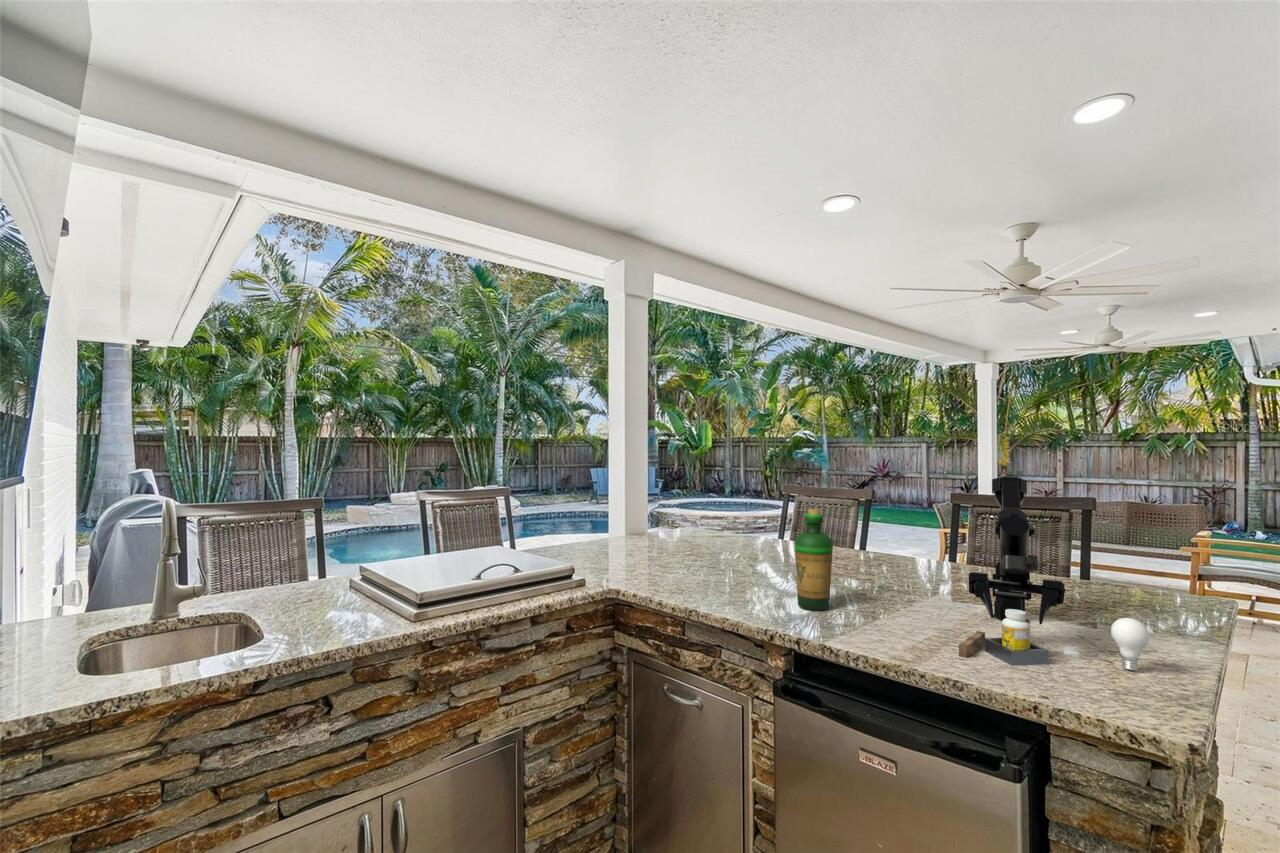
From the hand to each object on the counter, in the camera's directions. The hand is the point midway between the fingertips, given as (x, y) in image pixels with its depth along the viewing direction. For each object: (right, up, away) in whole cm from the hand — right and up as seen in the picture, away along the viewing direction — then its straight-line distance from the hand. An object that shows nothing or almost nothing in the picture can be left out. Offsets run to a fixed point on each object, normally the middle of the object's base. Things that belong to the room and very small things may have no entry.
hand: (1015, 620), depth 135 cm
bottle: (-34, -9, +39) cm, 53 cm away
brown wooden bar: (-7, -9, +5) cm, 12 cm away
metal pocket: (0, -8, 0) cm, 8 cm away
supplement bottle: (0, -8, 0) cm, 8 cm away
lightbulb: (+20, -9, -7) cm, 23 cm away
